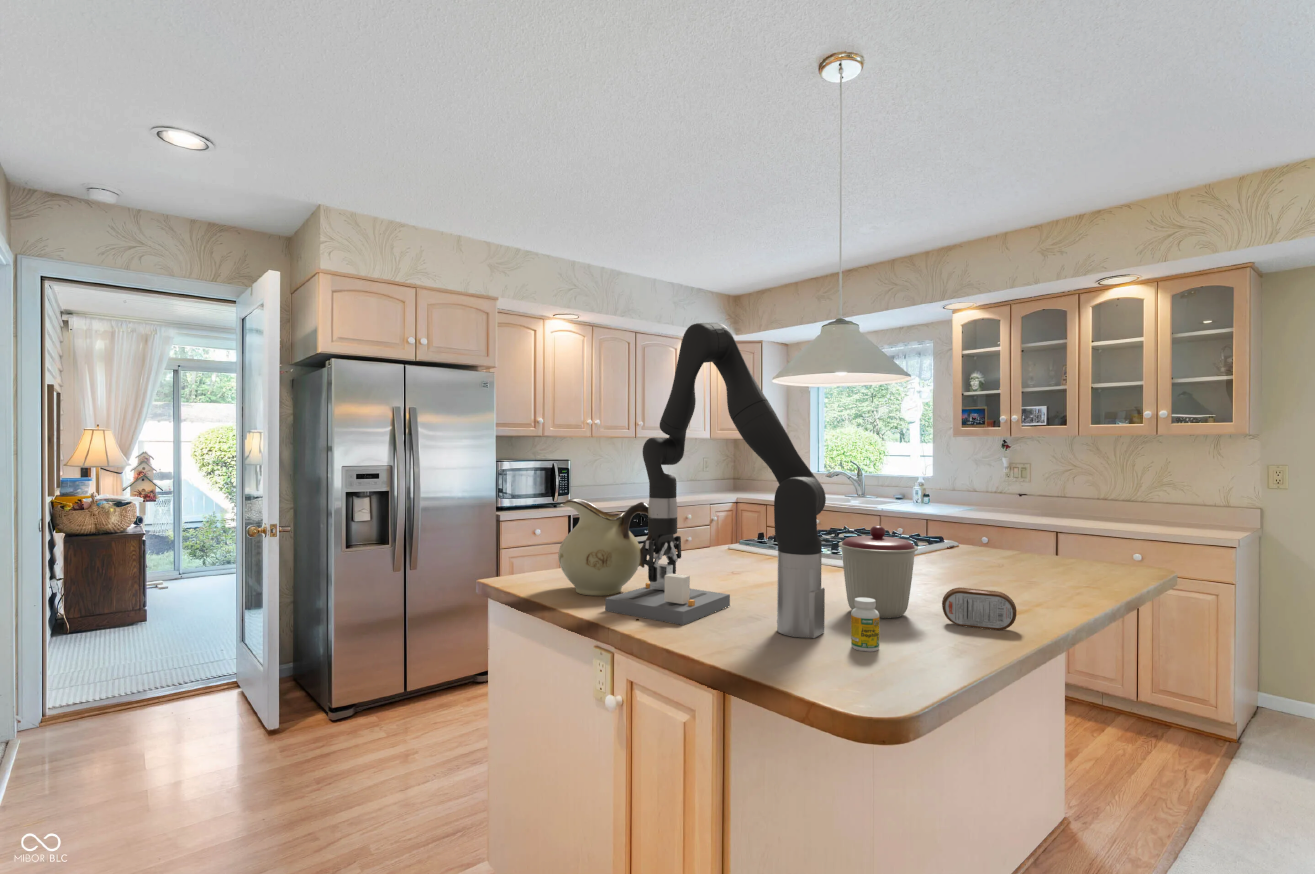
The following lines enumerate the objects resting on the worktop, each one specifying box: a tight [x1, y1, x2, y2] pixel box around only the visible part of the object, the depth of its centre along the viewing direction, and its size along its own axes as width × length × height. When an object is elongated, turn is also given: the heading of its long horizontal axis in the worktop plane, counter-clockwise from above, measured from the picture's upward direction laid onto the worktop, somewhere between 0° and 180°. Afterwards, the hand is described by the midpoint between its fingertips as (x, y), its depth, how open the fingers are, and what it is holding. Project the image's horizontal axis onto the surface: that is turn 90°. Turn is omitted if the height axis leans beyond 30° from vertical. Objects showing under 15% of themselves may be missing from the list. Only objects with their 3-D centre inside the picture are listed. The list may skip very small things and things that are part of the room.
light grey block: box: [649, 562, 673, 590], centre depth 169 cm, size 5×3×6 cm, turn 56°
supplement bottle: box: [850, 598, 880, 653], centre depth 131 cm, size 5×5×10 cm
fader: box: [664, 573, 691, 604], centre depth 154 cm, size 5×3×6 cm, turn 56°
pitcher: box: [558, 497, 652, 597], centre depth 181 cm, size 22×24×25 cm
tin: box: [941, 586, 1017, 631], centre depth 147 cm, size 15×3×8 cm, turn 65°
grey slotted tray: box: [604, 582, 731, 626], centre depth 161 cm, size 22×22×4 cm
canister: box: [838, 525, 919, 619], centre depth 159 cm, size 18×18×21 cm
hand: (662, 578), depth 169 cm, fingers open, 8 cm apart
